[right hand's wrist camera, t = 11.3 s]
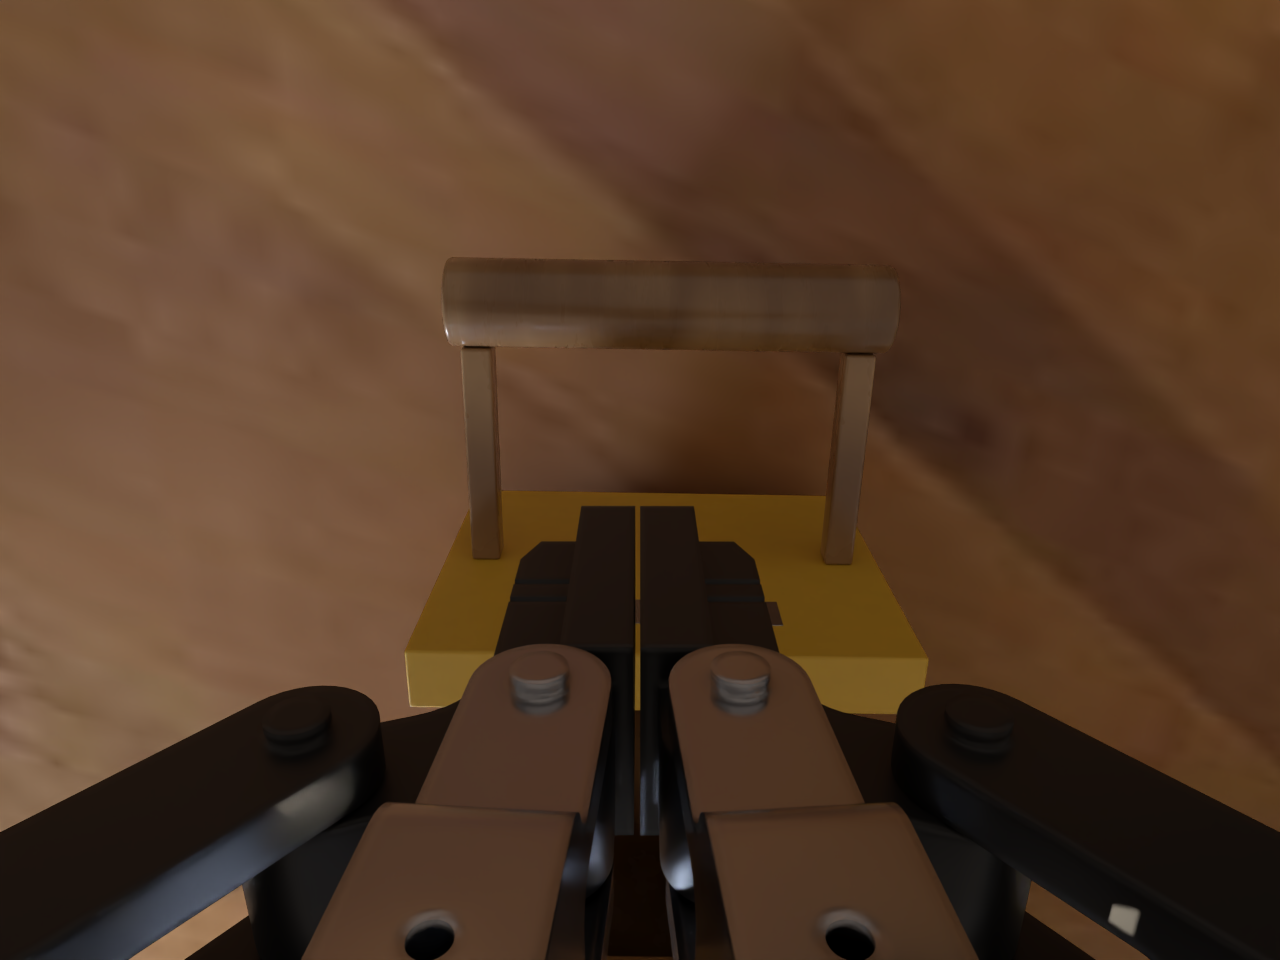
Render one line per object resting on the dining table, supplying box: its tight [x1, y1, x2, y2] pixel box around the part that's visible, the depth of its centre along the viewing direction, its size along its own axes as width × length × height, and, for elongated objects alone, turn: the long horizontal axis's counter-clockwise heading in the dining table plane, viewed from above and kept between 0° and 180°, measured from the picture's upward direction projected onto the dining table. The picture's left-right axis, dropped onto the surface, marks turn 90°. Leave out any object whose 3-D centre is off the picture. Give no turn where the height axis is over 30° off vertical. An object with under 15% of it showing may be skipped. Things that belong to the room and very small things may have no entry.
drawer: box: [404, 257, 929, 957], centre depth 21 cm, size 24×9×8 cm, turn 179°
